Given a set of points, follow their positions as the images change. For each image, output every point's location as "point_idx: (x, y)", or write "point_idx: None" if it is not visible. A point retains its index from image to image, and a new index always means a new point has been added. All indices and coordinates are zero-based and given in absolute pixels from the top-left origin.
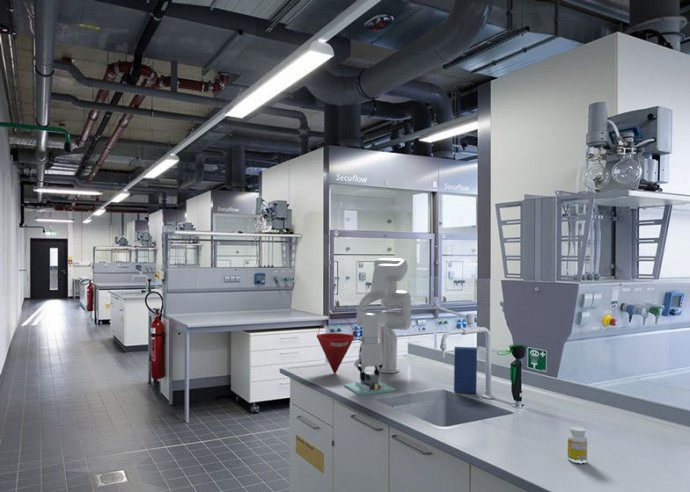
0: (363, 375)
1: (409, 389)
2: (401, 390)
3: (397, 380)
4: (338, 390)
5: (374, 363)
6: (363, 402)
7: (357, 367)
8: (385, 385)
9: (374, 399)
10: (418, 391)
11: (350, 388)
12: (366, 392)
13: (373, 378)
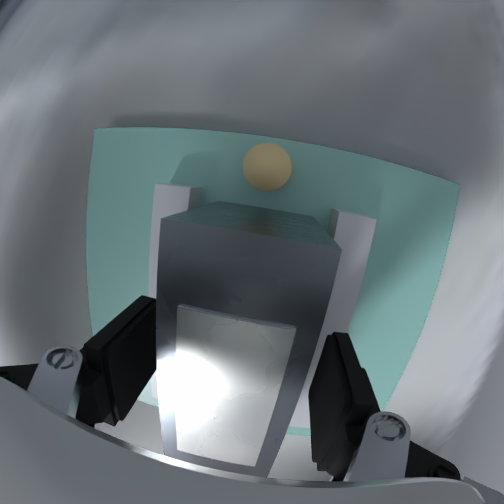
0: (358, 381)
1: (22, 150)
2: (62, 142)
3: (17, 344)
4: (461, 360)
5: (86, 491)
6: (485, 42)
7: (458, 480)
8: (101, 269)
9: (403, 28)
10: (19, 94)
11: (408, 350)
12: (397, 164)
13: (274, 229)
